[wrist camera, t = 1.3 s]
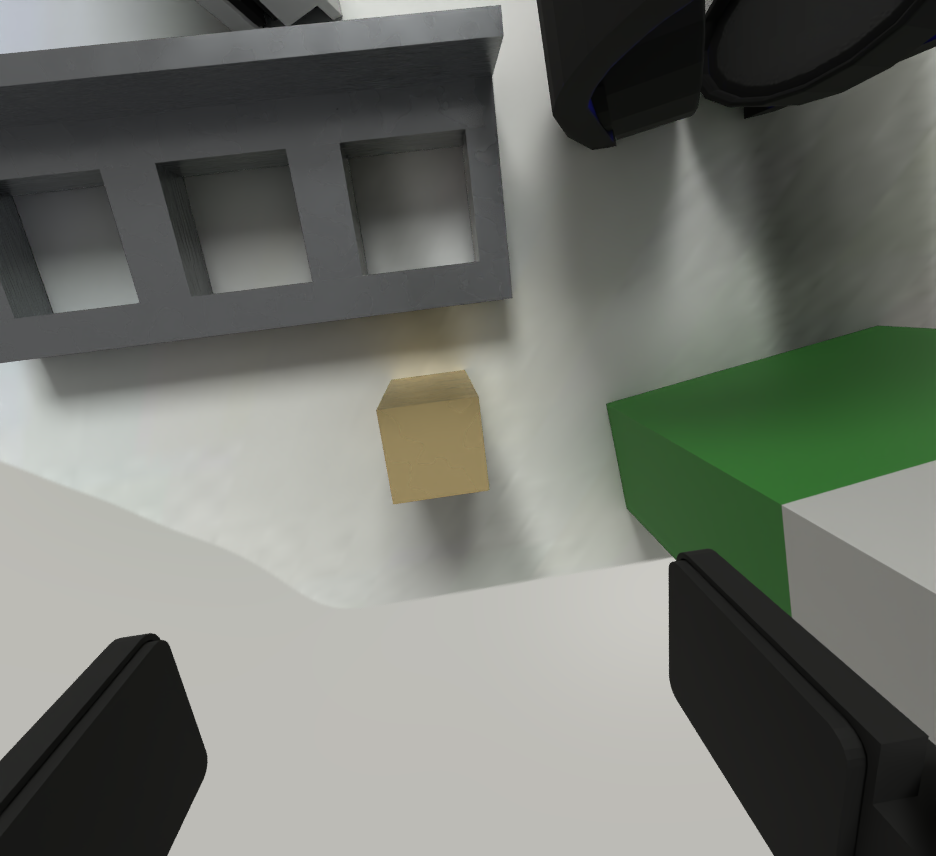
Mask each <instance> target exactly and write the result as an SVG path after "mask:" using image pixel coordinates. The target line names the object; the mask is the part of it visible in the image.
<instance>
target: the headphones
mask: <svg viewBox="0 0 936 856" xmlns="http://www.w3.org/2000/svg"><path fill="white" fill-rule="evenodd" d="M537 6H538V13H539V21H540V28H541V35H542V42H543V49H544V56H545V63H546V71H547V78H548V85H549V92H550V99H551V106H552V113H553V116H554V118H555V119H556V121H557V122H558V124H559V125H560V126H561V128H562V129H563V131H564V132H565V133H566V135H567V136H568V137H569V138H571V139H573V140H575V141H577V142H579V143H581V144H583V145H584V146H586V147H588V148H590V149H592V150H595V149H601V148H608V147H614V146H616V139H617V140H618V139H621V138H624V137H627V136H630V135H633V134H636V133H640V132H643V131H646V130H649V129H652V128H655V127H658V126H661V125H665V124H668V123H671V122H674V121H677V120H680V119H683V118H686V117H690V116H692V115H693V114H694V113H695V111H696V110H697V108H698V103H699V98H700V92H701V93H702V95H703V96H704V97H705V98H706V99H709V100H711V101H714V102H717V103H719V104H722V105H724V106H727V107H744V119H747V118H750V117H754V116H758V115H762V114H766V113H769V112H773V111H776V110H779V109H781V108H784V107H786V106H791V105H802V104H805V103H808V102H812V101H815V100H818V99H822V98H825V97H828V96H832V95H835V94H838V93H842V92H844V91H846V90H848V89H850V88H852V87H854V86H856V85H858V84H859V83H861V82H863V81H865V80H867V79H869V78H871V77H873V76H875V75H877V74H879V73H881V72H883V71H885V70H887V69H889V68H891V67H892V66H894V65H895V64H896V63H898V62H900V61H902V60H905V59H907V58H909V57H912V56H914V55H917V54H919V53H921V52H924V51H926V50H929V49H931V48H933V47H936V0H713V2H712V4H711V6H710V7H709V9H708V11H707V12H706V14H705V0H537ZM615 137H616V139H615Z"/></svg>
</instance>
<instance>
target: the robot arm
mask: <svg viewBox="0 0 936 856" xmlns="http://www.w3.org/2000/svg"><path fill="white" fill-rule="evenodd" d="M669 678H670V684H671V688H672V691H673V693H674V696H675V698H676V699H677V701H678V703H679V704H680V706H681V708H682V709H683V711H684V712H685V714H686V715H687V717H688V719H689V720H690V722H691V724H692V725H693V727H694V728H695V730H696V732H697V733H698V735H699V736H700V738H701V740H702V741H703V743H704V744H705V746H706V747H707V749H708V751H709V752H710V754H711V756H712V757H713V759H714V760H715V762H716V764H717V765H718V767H719V768H720V770H721V771H722V773H723V775H724V776H725V778H726V779H727V781H728V783H729V784H730V786H731V788H732V789H733V791H734V792H735V794H736V795H737V797H738V799H739V800H740V802H741V803H742V805H743V807H744V808H745V810H746V811H747V813H748V815H749V816H750V818H751V820H752V821H753V823H754V824H755V826H756V828H757V829H758V830H759V832H760V834H761V835H762V837H763V839H764V840H765V842H766V844H767V845H768V847H769V848H770V850H771V852H772V853H773V855H774V856H936V745H935V744H934V743H933V742H931V741H930V740H929V739H928V738H929V736H928V735H927V734H926V733H925V732H924V731H922V730H921V729H920V728H919V727H918V726H917V725H916V724H914V723H913V722H912V721H911V720H910V719H909V718H907V717H906V716H905V715H904V714H903V713H902V712H901V711H899V710H898V709H897V708H896V707H895V706H894V705H892V704H891V703H890V702H889V701H888V700H887V699H885V698H884V697H883V696H882V695H881V694H880V693H879V692H877V691H876V690H875V689H874V688H873V687H872V686H870V685H869V684H868V683H867V682H866V681H865V680H864V679H862V678H861V677H860V676H859V675H858V674H857V673H855V672H854V671H853V670H852V669H851V668H850V667H848V666H847V665H846V664H845V663H844V662H843V661H842V660H840V659H839V658H838V657H837V656H836V655H835V654H833V653H832V652H831V651H830V650H829V649H828V648H827V647H825V646H824V645H823V644H822V643H821V642H820V641H818V640H817V639H816V638H815V637H814V636H813V635H811V634H810V633H809V632H808V631H807V630H806V629H805V628H803V627H802V626H801V625H800V624H799V623H798V622H796V621H795V620H794V619H793V618H792V617H791V616H790V615H788V614H787V613H786V612H785V611H784V610H783V609H781V608H780V607H779V606H778V605H777V604H776V603H774V602H773V601H772V600H771V599H770V598H769V597H768V596H766V595H765V594H764V593H763V592H762V591H761V590H759V589H758V588H757V587H756V586H755V585H754V584H753V583H751V582H750V581H749V580H748V579H747V578H746V577H744V576H743V575H742V574H741V573H740V572H739V571H737V570H736V569H735V568H734V567H733V566H732V565H731V564H729V563H728V562H727V561H726V560H725V559H724V558H722V557H721V556H720V555H719V554H718V553H717V552H716V551H714V550H712V549H708V548H707V549H701V550H694V551H687V552H681V553H679V554H678V556H677V558H676V561H675V562H671V563H670V565H669ZM206 769H207V753H206V750H205V747H204V744H203V741H202V738H201V735H200V732H199V729H198V727H197V724H196V721H195V718H194V715H193V712H192V709H191V706H190V703H189V700H188V698H187V695H186V692H185V689H184V686H183V683H182V680H181V678H180V675H179V672H178V669H177V666H176V663H175V660H174V657H173V654H172V652H171V649H170V646H169V644H168V643H167V642H166V641H164V640H160V638H159V637H158V636H157V635H156V634H152V633H149V634H143V635H136V636H130V637H123V638H119V639H116V640H114V641H113V642H112V643H111V644H110V645H109V646H108V647H107V648H106V649H105V650H104V651H103V652H102V653H101V654H100V655H99V656H98V657H97V658H96V659H95V660H94V661H93V663H92V664H91V665H90V666H89V667H88V668H87V669H86V670H85V671H84V672H83V673H82V674H81V675H80V676H79V677H78V679H77V680H76V681H75V682H74V683H73V684H72V685H71V686H70V687H69V688H68V689H67V690H66V691H65V693H64V694H63V695H62V696H61V697H60V698H59V699H58V700H57V701H56V702H55V703H54V704H53V705H52V706H51V707H50V708H49V709H48V710H47V712H46V713H45V714H44V715H43V716H42V717H41V718H40V719H39V720H38V721H37V722H36V723H35V724H34V725H33V727H32V728H31V729H30V730H29V731H28V732H27V733H26V734H25V735H24V736H23V737H22V738H21V739H20V740H19V741H18V742H17V744H16V745H15V746H14V747H13V748H12V749H11V750H10V751H9V752H8V753H7V754H6V755H5V756H4V757H3V758H2V760H1V761H0V856H167V855H168V853H169V850H170V848H171V846H172V844H173V842H174V840H175V838H176V836H177V834H178V832H179V830H180V827H181V825H182V823H183V821H184V819H185V817H186V815H187V813H188V811H189V808H190V806H191V804H192V802H193V800H194V798H195V796H196V794H197V792H198V790H199V787H200V785H201V783H202V781H203V779H204V776H205V773H206Z"/></svg>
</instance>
